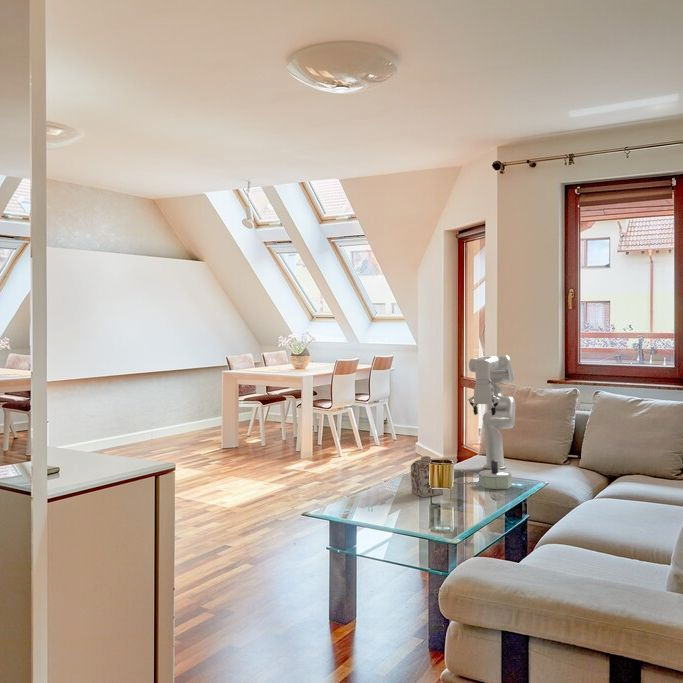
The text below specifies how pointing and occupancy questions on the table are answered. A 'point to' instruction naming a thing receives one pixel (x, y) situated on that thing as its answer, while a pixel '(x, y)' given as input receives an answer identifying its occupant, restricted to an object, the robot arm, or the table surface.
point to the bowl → (495, 482)
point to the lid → (494, 471)
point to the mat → (469, 483)
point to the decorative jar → (422, 478)
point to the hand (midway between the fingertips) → (484, 414)
